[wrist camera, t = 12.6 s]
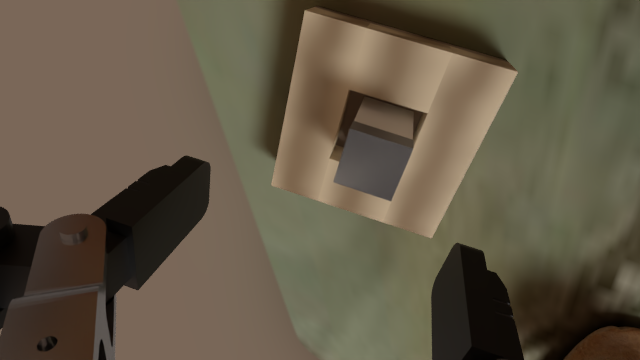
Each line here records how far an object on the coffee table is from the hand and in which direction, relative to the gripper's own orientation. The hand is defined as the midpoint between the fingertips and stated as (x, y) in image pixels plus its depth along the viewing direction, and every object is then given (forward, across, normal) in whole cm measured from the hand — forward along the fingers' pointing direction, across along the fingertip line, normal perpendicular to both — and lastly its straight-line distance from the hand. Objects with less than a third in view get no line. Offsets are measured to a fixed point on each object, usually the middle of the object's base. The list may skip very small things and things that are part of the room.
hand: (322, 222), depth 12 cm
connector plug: (+23, -1, +6) cm, 23 cm away
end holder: (+24, -1, +5) cm, 24 cm away
